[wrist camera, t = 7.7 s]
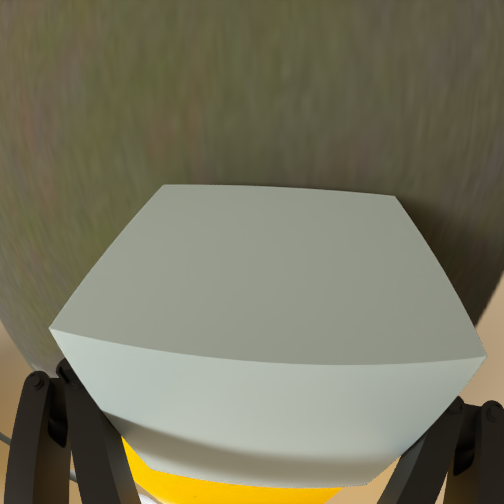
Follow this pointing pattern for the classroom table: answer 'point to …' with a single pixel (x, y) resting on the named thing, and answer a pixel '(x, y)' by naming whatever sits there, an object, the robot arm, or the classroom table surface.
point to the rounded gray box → (269, 335)
